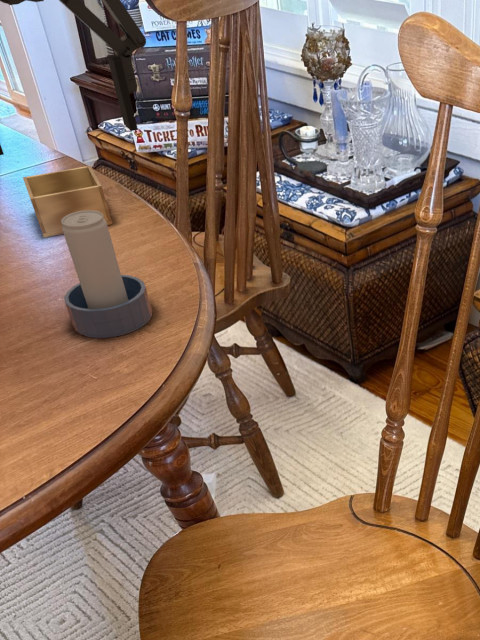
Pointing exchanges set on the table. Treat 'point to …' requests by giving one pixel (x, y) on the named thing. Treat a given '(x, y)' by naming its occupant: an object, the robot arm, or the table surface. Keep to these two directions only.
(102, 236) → the beverage can
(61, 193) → the box
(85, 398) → the table surface
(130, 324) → the dish
